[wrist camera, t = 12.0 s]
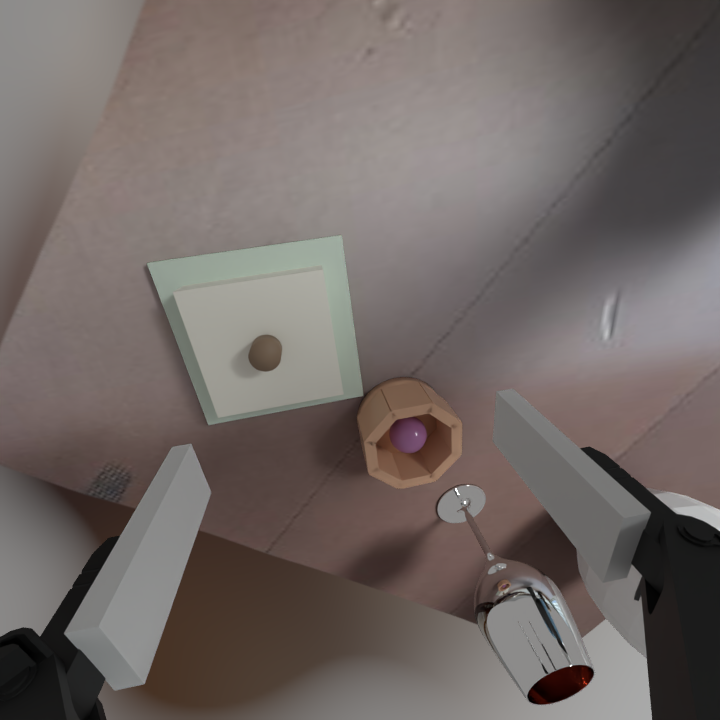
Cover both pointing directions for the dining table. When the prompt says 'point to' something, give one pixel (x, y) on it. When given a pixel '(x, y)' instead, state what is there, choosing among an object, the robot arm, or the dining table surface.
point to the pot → (408, 433)
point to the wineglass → (522, 615)
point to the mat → (263, 261)
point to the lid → (262, 339)
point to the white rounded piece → (637, 576)
